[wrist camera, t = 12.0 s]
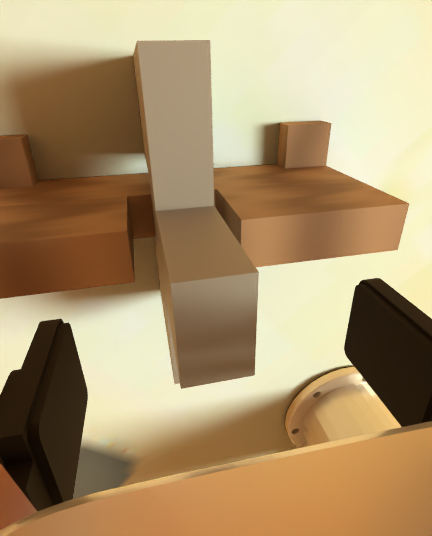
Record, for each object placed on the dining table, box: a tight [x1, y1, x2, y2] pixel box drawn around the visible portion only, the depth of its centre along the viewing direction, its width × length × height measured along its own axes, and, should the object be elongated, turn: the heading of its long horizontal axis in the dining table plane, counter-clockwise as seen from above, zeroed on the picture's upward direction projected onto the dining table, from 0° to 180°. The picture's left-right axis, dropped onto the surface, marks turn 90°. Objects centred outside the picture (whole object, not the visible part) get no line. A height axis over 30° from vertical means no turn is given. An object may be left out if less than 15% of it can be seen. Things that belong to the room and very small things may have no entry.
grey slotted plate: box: [133, 40, 259, 389], centre depth 18 cm, size 16×2×16 cm, turn 1°
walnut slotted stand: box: [0, 121, 409, 299], centre depth 20 cm, size 22×8×10 cm, turn 91°
